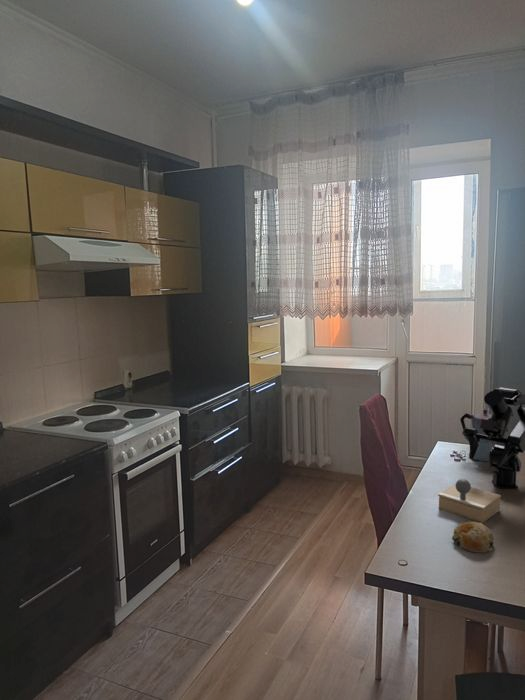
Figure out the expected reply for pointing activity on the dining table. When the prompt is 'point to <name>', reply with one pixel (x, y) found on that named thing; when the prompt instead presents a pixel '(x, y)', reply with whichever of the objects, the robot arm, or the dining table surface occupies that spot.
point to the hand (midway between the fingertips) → (484, 462)
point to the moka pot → (484, 445)
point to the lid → (469, 495)
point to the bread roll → (473, 537)
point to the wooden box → (469, 509)
